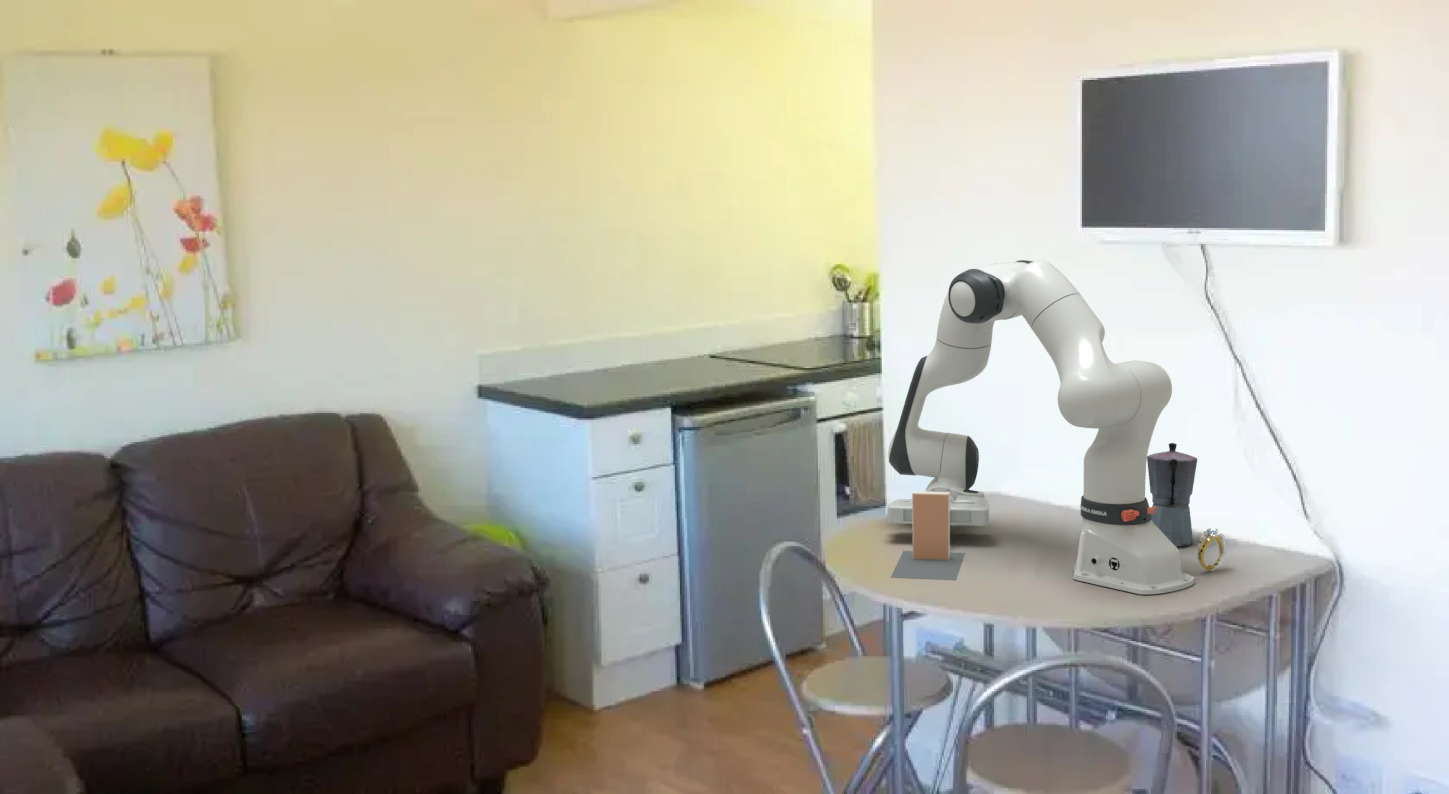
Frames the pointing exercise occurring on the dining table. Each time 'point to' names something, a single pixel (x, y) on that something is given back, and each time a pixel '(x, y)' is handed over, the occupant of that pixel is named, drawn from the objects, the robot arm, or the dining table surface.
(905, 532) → the dining table surface
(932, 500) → the tile
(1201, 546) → the ring
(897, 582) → the dining table surface
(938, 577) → the mat
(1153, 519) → the moka pot
